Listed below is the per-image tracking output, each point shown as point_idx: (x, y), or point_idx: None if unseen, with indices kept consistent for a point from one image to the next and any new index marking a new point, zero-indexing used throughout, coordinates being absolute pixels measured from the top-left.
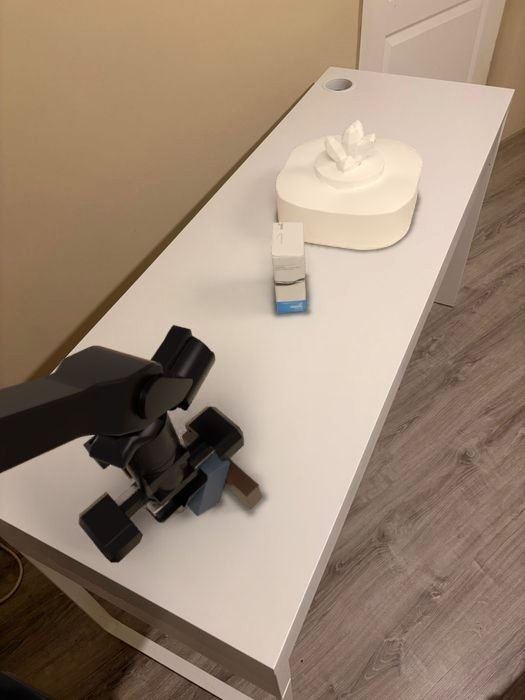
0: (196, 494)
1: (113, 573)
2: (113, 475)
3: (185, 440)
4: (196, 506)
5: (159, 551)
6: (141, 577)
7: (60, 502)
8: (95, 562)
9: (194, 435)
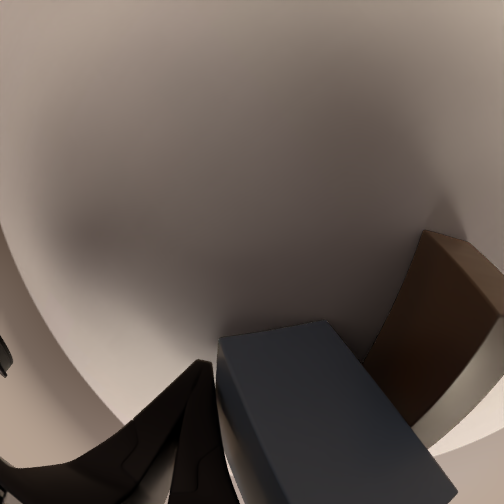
0: (238, 476)
1: (25, 280)
2: (134, 29)
3: (472, 341)
4: (223, 441)
5: (106, 342)
6: (62, 332)
7: (18, 28)
8: (5, 231)
9: (496, 367)
